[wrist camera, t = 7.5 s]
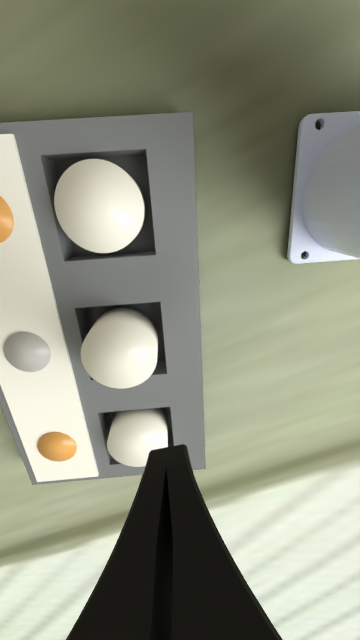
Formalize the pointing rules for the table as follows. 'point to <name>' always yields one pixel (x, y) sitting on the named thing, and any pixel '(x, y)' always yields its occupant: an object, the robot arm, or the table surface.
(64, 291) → the button board
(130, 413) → the button
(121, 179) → the button
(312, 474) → the table surface
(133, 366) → the button
